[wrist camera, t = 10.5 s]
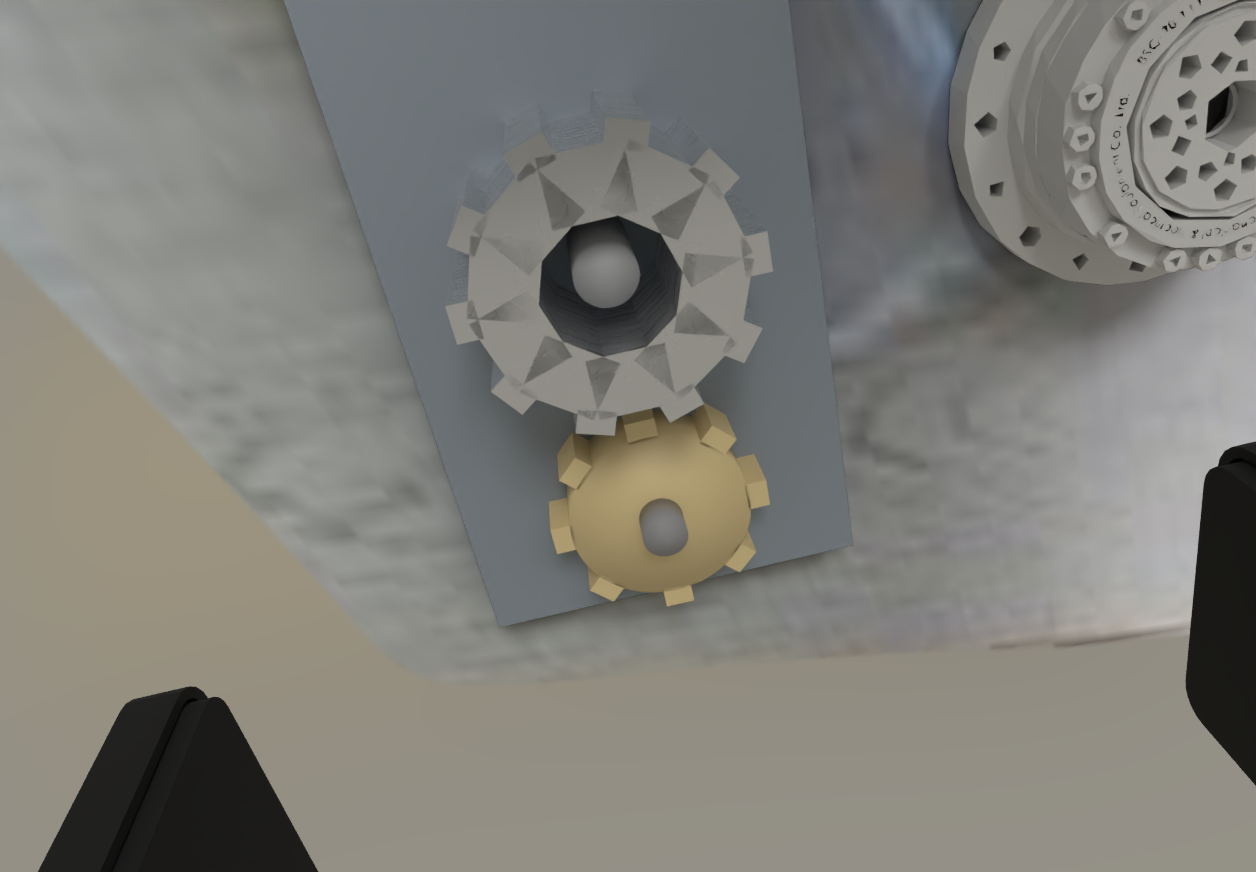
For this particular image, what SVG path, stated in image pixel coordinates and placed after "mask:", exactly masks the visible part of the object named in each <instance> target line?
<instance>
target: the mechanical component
mask: <svg viewBox="0 0 1256 872" xmlns="http://www.w3.org/2000/svg"><path fill="white" fill-rule="evenodd" d="M978 121H979V123H978V124H976V125H974V124H975V123H977V122H978ZM948 145H949V149H950V153H951V157H952V161H953V165H954V169H955V173H956V177H957V181H958V185H959V189H960V191H961V193H962V195H963V196H964V198H965V200H966V202H967V203H968V205H969V207H970V209H971V210H972V212H973V214H974V215H975V217H976V219H977V221H978V222H979V224H980V226H981V227H983V228H984V229H985V230H986V231H987V232H988V233H990V234H991V235H992V236H993V237H994V238H995V239H996V240H998V241H999V242H1000V243H1001V244H1002V245H1003V246H1005V247H1006V248H1007V249H1008V250H1009V251H1010V252H1012V253H1013V254H1014V255H1016V256H1018V257H1019V258H1021V259H1023V260H1024V261H1026V262H1027V263H1029V264H1031V265H1034V266H1036V267H1038V268H1040V269H1042V270H1044V271H1046V272H1048V273H1051V274H1053V275H1055V276H1057V277H1059V278H1061V279H1063V280H1066V281H1075V282H1083V283H1092V284H1101V285H1115V284H1124V283H1133V282H1142V281H1147V280H1150V279H1153V278H1156V277H1159V276H1162V275H1165V274H1168V273H1171V272H1176V271H1177V270H1180V269H1190V268H1195V267H1196V268H1198V269H1200V270H1202V271H1206V270H1211V269H1214V268H1215V267H1216V266H1217V265H1218V264H1219V263H1220V262H1221V261H1226V260H1228V259H1231V258H1233V257H1236V258H1238V259H1241V260H1245V259H1248V258H1250V257H1252V255H1253V254H1254V252H1255V251H1256V0H983V1H982V3H981V5H980V7H979V9H978V10H977V12H976V14H975V16H974V18H973V20H972V22H971V24H970V26H969V28H968V30H967V33H966V36H965V39H964V42H963V46H962V49H961V52H960V55H959V59H958V62H957V65H956V69H955V72H954V75H953V78H952V82H951V85H950V110H949V135H948Z"/></svg>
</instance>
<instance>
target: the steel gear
mask: <svg viewBox="0 0 1256 872" xmlns="http://www.w3.org/2000/svg"><path fill="white" fill-rule="evenodd" d="M650 124H651V121H650V120H649V118H648V117H647V115H646V114H645V113H644V111H643V110H642V109H641V107H640V106H639V105H638V103H637V102H636V101H635V99H634V98H633V96H632V95H631V94H630V93H622V92H612V91H603V90H593V89H592V96H591V108H590V111H589V112H585V113H581V114H576V115H572V116H568V117H564V118H559V119H555V120H551V121H548V119H547V117H546V115H545V114H544V112H543V110H542V109H541V107H540V105H539V104H538V102H537V103H535V104H534V105H532V106H531V107H529V108H528V109H526V110H524V111H523V112H521V113H520V114H518V115H516V116H515V117H513V118H512V119H510V120H508V121H507V122H505V130H504V144H503V158H502V159H501V160H500V162H499V163H498V164H497V165H496V167H495V168H494V169H493V170H492V171H491V173H488V172H485V171H483V170H481V169H478V168H476V167H474V166H471V165H470V167H469V170H468V173H467V176H466V178H465V181H464V184H463V186H462V189H461V192H460V194H459V197H458V200H457V204H456V208H455V212H454V217H453V221H452V225H451V229H450V234H449V238H448V242H447V246H448V247H450V248H453V249H456V250H458V251H460V252H456V254H455V259H454V264H453V269H452V274H451V279H450V284H449V289H448V294H447V299H446V304H445V308H446V311H447V314H448V317H449V321H450V324H451V327H452V330H453V333H454V337H455V340H456V343H457V345H459V344H463V343H467V342H472V341H476V340H480V341H481V343H482V344H483V346H484V347H485V349H486V350H487V351H488V353H489V354H490V356H491V357H492V358H493V364H492V380H491V392H492V393H493V394H495V395H496V396H497V397H499V398H500V399H502V400H503V401H504V402H506V403H507V404H508V405H510V406H511V407H512V408H514V409H515V410H516V411H518V412H519V413H520V414H522V415H523V414H524V412H525V411H526V410H527V409H528V408H529V407H530V406H531V405H532V404H533V403H534V402H535V400H539V401H542V402H545V403H547V404H550V405H553V406H556V407H559V408H561V409H564V410H567V411H570V412H573V414H574V423H575V432H576V434H593V435H612V436H615V428H616V420H617V416H621V415H625V414H630V413H634V412H638V411H643V410H647V409H651V408H655V407H660V408H661V409H662V411H663V412H664V414H665V416H666V417H667V419H668V420H669V422H670V423H671V422H672V421H674V420H676V419H678V418H680V417H681V416H683V415H685V414H687V413H689V412H690V411H692V410H694V409H696V408H698V407H699V406H701V405H703V404H704V402H703V400H702V397H701V395H700V392H699V390H698V387H697V384H698V383H699V382H700V381H701V380H702V379H703V378H704V377H705V376H706V375H707V374H708V373H709V372H710V371H711V370H712V369H713V368H714V367H715V365H716V364H717V363H718V362H719V361H720V360H721V359H722V358H723V357H724V356H727V357H730V358H732V359H735V360H737V361H740V362H742V363H745V361H746V359H747V357H748V355H749V354H750V352H751V350H752V348H753V346H754V344H755V342H756V340H757V338H758V337H759V335H760V333H761V331H762V329H763V328H762V326H761V325H760V323H759V322H758V320H757V318H756V317H755V315H754V314H753V312H752V310H751V309H750V307H749V306H748V304H747V303H746V302H747V296H748V290H749V285H750V279H751V276H755V275H760V274H764V273H768V272H773V267H772V260H771V253H770V246H769V239H768V232H767V230H766V229H765V228H764V227H763V226H762V224H761V223H760V222H759V221H758V220H757V219H756V217H755V216H754V215H753V214H752V213H751V212H750V210H749V209H748V208H747V207H746V206H745V205H744V203H743V202H742V201H741V200H740V199H739V198H738V196H737V195H736V194H735V193H734V192H733V191H732V189H730V188H731V187H732V186H733V185H734V184H735V182H736V181H737V180H738V179H739V178H740V177H739V176H738V175H737V174H736V173H735V172H734V171H733V169H732V168H731V167H730V166H729V165H728V164H727V163H726V162H725V161H724V160H723V159H722V158H721V157H720V156H719V155H718V154H717V152H716V151H715V150H714V149H713V148H712V147H711V146H710V145H709V144H708V143H707V142H706V141H705V140H704V139H703V138H702V137H701V136H700V135H699V134H698V133H697V132H696V131H695V130H694V129H693V128H692V127H691V126H690V125H688V124H687V123H686V122H685V121H684V120H683V119H682V118H681V117H679V118H678V119H677V120H676V121H675V122H674V123H673V125H672V126H671V127H670V128H669V129H668V130H667V131H666V132H664V131H662V130H660V129H658V128H655V127H653V126H651V125H650ZM614 216H621V217H623V218H625V219H628V220H630V221H632V222H635V223H637V224H639V225H642V226H644V227H647V228H649V229H651V230H654V231H656V232H657V240H656V248H655V256H654V262H653V263H652V264H651V265H650V266H649V267H648V268H647V269H646V270H645V272H644V273H643V274H642V275H641V276H640V279H639V284H638V287H637V289H636V291H635V292H634V294H633V295H632V296H631V297H630V298H629V299H628V300H627V301H626V302H624V303H623V304H621V305H618V306H615V307H611V308H600V307H596V306H593V305H591V304H589V303H587V302H586V301H584V300H583V299H582V298H581V297H580V295H579V294H578V293H577V292H575V291H572V290H570V289H567V288H565V287H562V286H560V285H557V284H556V283H555V281H554V280H553V278H552V277H551V275H550V274H549V272H548V271H547V269H546V267H545V266H544V264H543V263H542V260H543V259H544V258H545V257H546V256H547V255H548V254H549V252H550V251H551V250H552V249H553V248H554V247H555V246H556V244H557V243H558V242H559V241H560V240H561V239H562V237H563V236H564V235H565V234H566V233H567V232H568V231H569V229H570V228H571V227H572V226H576V225H580V224H584V223H588V222H593V221H597V220H601V219H606V218H610V217H614Z"/></svg>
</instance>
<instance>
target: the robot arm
mask: <svg viewBox="0 0 1256 872" xmlns="http://www.w3.org/2000/svg"><path fill="white" fill-rule="evenodd" d="M1186 691H1187V695H1188V698H1189V701H1190V704H1191V706H1192V708H1193V710H1194V712H1195V714H1196V716H1197V717H1198V719H1199V720H1200V721H1201V723H1202V724H1203V725H1204V726H1205V727H1206V728H1207V730H1208V731H1209V732H1210V733H1211V734H1212V735H1213V737H1214V738H1215V739H1216V740H1217V741H1218V742H1219V744H1220V745H1221V746H1222V747H1223V748H1224V749H1225V750H1226V751H1227V753H1228V754H1229V755H1230V756H1231V757H1232V759H1233V760H1234V761H1235V762H1236V763H1237V764H1238V765H1239V767H1240V768H1241V769H1242V770H1243V771H1244V773H1245V774H1246V775H1247V776H1248V777H1249V778H1250V779H1251V781H1252V782H1253V783H1254V784H1255V785H1256V442H1252V443H1248V444H1243V445H1239V446H1234V447H1232V448H1230V449H1228V450H1226V451H1225V452H1224V453H1223V455H1222V456H1221V458H1220V460H1219V464H1218V467H1214V468H1212V469H1210V470H1209V472H1208V473H1207V475H1206V477H1205V481H1204V488H1203V499H1202V510H1201V521H1200V531H1199V542H1198V553H1197V564H1196V574H1195V585H1194V596H1193V607H1192V617H1191V628H1190V639H1189V650H1188V662H1187V671H1186ZM38 872H318V871H317V869H316V867H315V865H314V863H313V861H312V860H311V858H310V857H309V854H308V852H307V851H306V849H305V847H304V845H303V843H302V841H301V840H300V838H299V836H298V834H297V832H296V830H295V829H294V827H293V825H292V823H291V821H290V819H289V817H288V816H287V814H286V812H285V810H284V808H283V806H282V805H281V803H280V801H279V799H278V797H277V795H276V794H275V792H274V790H273V788H272V786H271V784H270V783H269V781H268V779H267V777H266V775H265V773H264V771H263V770H262V768H261V766H260V764H259V762H258V761H257V759H256V757H255V755H254V753H253V751H252V749H251V748H250V746H249V744H248V742H247V740H246V738H245V737H244V735H243V733H242V731H241V729H240V727H239V726H238V724H237V722H236V720H235V719H234V717H233V715H232V713H231V711H230V709H229V707H228V706H227V705H226V703H225V702H224V701H223V700H222V699H221V698H219V697H212V698H207V696H206V695H205V694H204V692H203V691H201V690H200V689H198V688H197V687H185V688H181V689H177V690H172V691H168V692H163V693H159V694H155V695H151V696H146V697H142V698H137V699H133V700H131V701H130V702H128V703H126V704H125V706H124V707H123V708H122V710H121V711H120V713H119V715H118V717H117V719H116V721H115V723H114V725H113V726H112V728H111V731H110V732H109V734H108V736H107V738H106V740H105V742H104V744H103V746H102V748H101V750H100V752H99V754H98V756H97V758H96V760H95V761H94V763H93V766H92V767H91V769H90V771H89V773H88V775H87V777H86V779H85V781H84V783H83V785H82V787H81V789H80V791H79V793H78V795H77V797H76V799H75V800H74V802H73V804H72V806H71V808H70V810H69V812H68V814H67V816H66V818H65V820H64V822H63V824H62V826H61V828H60V830H59V832H58V834H57V836H56V838H55V839H54V841H53V843H52V845H51V847H50V849H49V851H48V853H47V855H46V857H45V859H44V861H43V863H42V865H41V867H40V869H39V871H38Z"/></svg>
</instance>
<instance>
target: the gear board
mask: <svg viewBox="0 0 1256 872" xmlns="http://www.w3.org/2000/svg"><path fill="white" fill-rule="evenodd" d="M284 3H285V6H286V9H287V11H288V14H289V17H290V20H291V23H292V26H293V29H294V32H295V35H296V38H297V40H298V43H299V46H300V49H301V52H302V55H303V58H304V61H305V64H306V67H307V70H308V72H309V75H310V78H311V81H312V84H313V87H314V90H315V93H316V96H317V99H318V101H319V104H320V107H321V110H322V113H323V116H324V119H325V122H326V125H327V128H328V130H329V133H330V136H331V139H332V142H333V145H334V148H335V151H336V154H337V157H338V160H339V162H340V165H341V168H342V171H343V174H344V177H345V180H346V183H347V186H348V189H349V191H350V194H351V197H352V200H353V203H354V206H355V209H356V212H357V215H358V218H359V220H360V223H361V226H362V229H363V232H364V235H365V238H366V241H367V244H368V247H369V250H370V252H371V255H372V258H373V261H374V264H375V267H376V270H377V273H378V276H379V279H380V281H381V284H382V287H383V290H384V293H385V296H386V299H387V302H388V305H389V308H390V310H391V313H392V316H393V319H394V322H395V325H396V328H397V331H398V334H399V337H400V340H401V342H402V345H403V348H404V351H405V354H406V357H407V360H408V363H409V366H410V369H411V371H412V374H413V377H414V380H415V383H416V386H417V389H418V392H419V395H420V398H421V400H422V403H423V406H424V409H425V412H426V415H427V418H428V421H429V424H430V427H431V430H432V432H433V435H434V438H435V441H436V444H437V447H438V450H439V453H440V456H441V459H442V461H443V464H444V467H445V470H446V473H447V476H448V479H449V482H450V485H451V488H452V491H453V493H454V496H455V499H456V502H457V505H458V508H459V511H460V514H461V517H462V520H463V522H464V525H465V528H466V531H467V534H468V537H469V540H470V543H471V546H472V549H473V551H474V554H475V557H476V560H477V563H478V566H479V569H480V572H481V575H482V578H483V581H484V583H485V586H486V589H487V592H488V595H489V598H490V601H491V604H492V607H493V610H494V612H495V615H496V618H497V621H498V624H499V627H503V626H508V625H512V624H516V623H520V622H525V621H529V620H533V619H538V618H542V617H546V616H551V615H555V614H559V613H563V612H568V611H572V610H576V609H581V608H585V607H589V606H594V605H598V604H602V603H607V602H611V601H613V602H614V601H615V600H619V599H624V598H628V597H632V596H637V595H641V594H645V593H650V592H664V596H665V600H666V605H667V606H672V605H676V604H680V603H685V602H689V601H693V600H694V597H693V593H692V588H691V585H693V584H696V583H698V582H700V581H702V580H706V579H710V578H714V577H719V576H723V575H727V574H731V573H736V572H741V571H744V570H749V569H753V568H757V567H762V566H766V565H770V564H775V563H779V562H783V561H787V560H792V559H796V558H800V557H805V556H809V555H813V554H818V553H822V552H826V551H831V550H835V549H839V548H843V547H848V546H852V545H853V540H852V532H851V524H850V515H849V507H848V498H847V490H846V481H845V473H844V464H843V456H842V448H841V439H840V431H839V422H838V414H837V405H836V397H835V388H834V380H833V372H832V363H831V355H830V346H829V338H828V329H827V321H826V312H825V304H824V295H823V287H822V279H821V270H820V262H819V253H818V245H817V236H816V228H815V219H814V211H813V203H812V194H811V186H810V177H809V169H808V160H807V152H806V143H805V135H804V127H803V118H802V110H801V101H800V93H799V84H798V76H797V67H796V59H795V50H794V42H793V34H792V25H791V17H790V8H789V0H284ZM592 89H593V90H603V91H612V92H622V93H630V94H631V95H632V96H633V98H634V99H635V101H636V102H637V103H638V105H639V106H640V107H641V109H642V110H643V111H644V113H645V114H646V115H647V117H648V118H649V120H650V121H651V124H650V125H651V126H653V127H655V128H658V129H660V130H662V131H664V132H666V131H667V130H668V129H669V128H670V127H671V126H672V125H673V123H674V122H675V121H676V120H677V119H678V118H679V117H681V118H682V119H683V120H684V121H685V122H686V123H687V124H688V125H690V126H691V127H692V128H693V129H694V130H695V131H696V132H697V133H698V134H699V135H700V136H701V137H702V138H703V139H704V140H705V141H706V142H707V143H708V144H709V145H710V146H711V147H712V148H713V149H714V150H715V151H716V152H717V154H718V155H719V156H720V157H721V158H722V159H723V160H724V161H725V162H726V163H727V164H728V165H729V166H730V167H731V168H732V169H733V171H734V172H735V173H736V174H737V175H738V176H739V177H740V178H739V179H738V180H737V181H736V182H735V184H734V185H733V186H732V187H731V188H730V189H732V191H733V192H734V193H735V194H736V195H737V196H738V198H739V199H740V200H741V201H742V202H743V203H744V205H745V206H746V207H747V208H748V209H749V210H750V212H751V213H752V214H753V215H754V216H755V217H756V219H757V220H758V221H759V222H760V223H761V224H762V226H763V227H764V228H765V229H766V230H767V232H768V239H769V246H770V253H771V260H772V267H773V272H768V273H764V274H760V275H755V276H751V279H750V285H749V290H748V296H747V302H746V303H747V304H748V306H749V307H750V309H751V310H752V312H753V314H754V315H755V317H756V318H757V320H758V322H759V323H760V325H761V326H762V328H763V329H762V331H761V333H760V335H759V337H758V338H757V340H756V342H755V344H754V346H753V348H752V350H751V352H750V354H749V355H748V357H747V359H746V361H745V363H742V362H740V361H737V360H735V359H732V358H730V357H727V356H724V357H723V358H722V359H721V360H720V361H719V362H718V363H717V364H716V365H715V367H714V368H713V369H712V370H711V371H710V372H709V373H708V374H707V375H706V376H705V377H704V378H703V379H702V380H701V381H700V382H699V383H698V384H697V387H698V390H699V392H700V395H701V397H702V400H703V402H704V404H703V405H701V406H699V407H698V408H696V409H694V410H692V411H690V412H689V413H687V414H685V415H683V416H681V417H680V418H678V419H676V420H674V421H672V422H671V423H670V422H669V420H668V419H667V417H666V416H665V414H664V412H663V411H662V409H661V408H660V407H655V408H651V409H647V410H643V411H638V412H634V413H630V414H625V415H621V416H617V420H616V428H615V436H612V435H593V434H576V432H575V423H574V414H573V412H570V411H567V410H564V409H561V408H559V407H556V406H553V405H550V404H547V403H545V402H542V401H539V400H535V402H534V403H533V404H532V405H531V406H530V407H529V408H528V409H527V410H526V411H525V412H524V414H523V415H522V414H520V413H519V412H518V411H516V410H515V409H514V408H512V407H511V406H510V405H508V404H507V403H506V402H504V401H503V400H502V399H500V398H499V397H497V396H496V395H495V394H493V393H492V392H491V380H492V364H493V358H492V357H491V356H490V354H489V353H488V351H487V350H486V349H485V347H484V346H483V344H482V343H481V341H480V340H476V341H472V342H467V343H463V344H459V345H457V343H456V340H455V337H454V333H453V330H452V327H451V324H450V321H449V317H448V314H447V311H446V308H445V304H446V299H447V294H448V289H449V284H450V279H451V274H452V269H453V264H454V259H455V254H456V252H460V251H458V250H456V249H453V248H450V247H448V246H447V242H448V238H449V234H450V229H451V225H452V221H453V217H454V212H455V208H456V204H457V200H458V197H459V194H460V192H461V189H462V186H463V184H464V181H465V178H466V176H467V173H468V170H469V167H470V165H471V166H474V167H476V168H478V169H481V170H483V171H485V172H488V173H491V171H492V170H493V169H494V168H495V167H496V165H497V164H498V163H499V162H500V160H501V159H502V158H503V144H504V130H505V122H507V121H508V120H510V119H512V118H513V117H515V116H516V115H518V114H520V113H521V112H523V111H524V110H526V109H528V108H529V107H531V106H532V105H534V104H535V103H537V102H538V104H539V105H540V107H541V109H542V110H543V112H544V114H545V115H546V117H547V119H548V121H551V120H555V119H559V118H564V117H568V116H572V115H576V114H581V113H585V112H589V111H590V108H591V96H592ZM656 240H657V232H656V231H654V230H651V229H649V228H647V227H644V226H642V225H639V224H637V223H635V222H632V221H630V220H628V219H625V218H623V217H621V216H614V217H610V218H606V219H601V220H597V221H593V222H588V223H584V224H580V225H576V226H572V227H571V228H570V229H569V231H568V232H567V233H566V234H565V235H564V236H563V237H562V239H561V240H560V241H559V242H558V243H557V244H556V246H555V247H554V248H553V249H552V250H551V251H550V252H549V254H548V255H547V256H546V257H545V258H544V259H543V260H542V263H543V264H544V266H545V267H546V269H547V271H548V272H549V274H550V275H551V277H552V278H553V280H554V281H555V283H556V284H557V285H560V286H562V287H565V288H567V289H570V290H572V291H575V292H577V293H578V294H579V295H580V297H581V298H582V299H583V300H584V301H586V302H587V303H589V304H591V305H593V306H596V307H600V308H611V307H615V306H618V305H621V304H623V303H624V302H626V301H627V300H628V299H629V298H630V297H631V296H632V295H633V294H634V292H635V291H636V289H637V287H638V284H639V279H640V276H641V275H642V274H643V273H644V272H645V270H646V269H647V268H648V267H649V266H650V265H651V264H652V263H653V262H654V256H655V248H656Z"/></svg>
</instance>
